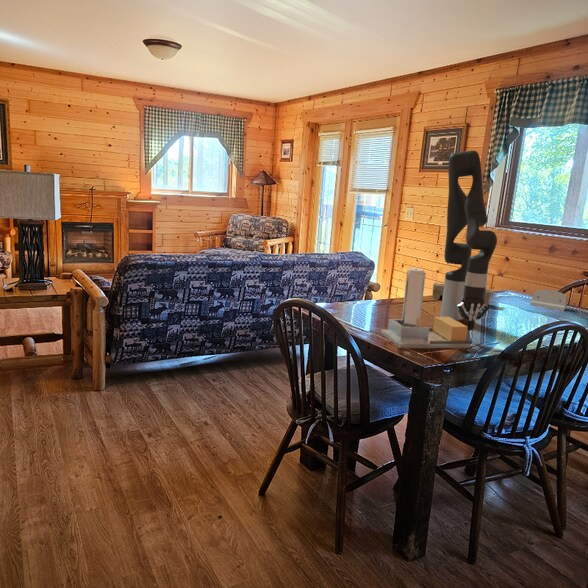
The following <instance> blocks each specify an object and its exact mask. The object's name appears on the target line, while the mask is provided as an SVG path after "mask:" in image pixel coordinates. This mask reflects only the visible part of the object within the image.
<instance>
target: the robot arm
mask: <svg viewBox="0 0 588 588" xmlns="http://www.w3.org/2000/svg"><path fill="white" fill-rule="evenodd" d="M481 163H482V162H481V158H480V154H479V153H478V151H476V150H472V149H471V150H465V151H459V152H454V153H451V154H450V155H449V158H448V165H447V166H448V173H447V174H448V198H447V199H448V200H447V208H446V209H447V211H446V212H447V213H446V237H445V244H444V245H445V247H444V261H445V262H446V263H447V264H452V265H460V267H459V268H458V269H455V270H450V271H447V272H446V273H445V275H444V283H443V284H444V291H443V299H442V298H441V300H442V301H441V309H440V316H439V317H450V318H452V319H454V320H456V321H461V320H465V324H464V325H465V326H467V327H468V329H467V331H473V330H474V329H475V325H476V324H475V323H476V321H477V320H481V319H482V318H483V317H484V315H485V314H486V313H487V312H488V310H489V309H490V306H489V305H488V306H486V305H485V304H484V297H485V291H486V290H487V285H488V284H487V282H488V272H489V271H488V270H489V265H490V261H491V259H492V257H493V254H494V252H495V249H496V247H497V243H498V237H497V234H496V233H495V232H494V231H492V230H485V229H481V230H480V227H483V226H484V225H486V224H487V223H488V220H489V219H488V214H487V209H486V205H485V200H484V192H483V191H484V190H483V189H484V188H483V175H482V174H483V173H482V164H481ZM470 176H472V177H471V178H472V184H471V187H470V189H469V191H468V193H467V194H466V193H465V192H464V190H463V188H461V186H460V183H459V178H463V177H470ZM465 228H466V234H465V235H466V236H465V242H466V243H461V242H454V241H455V239H456V238H457V237H458V236H459V234H460V233H461V232H462V231H463V230H464V229H465ZM472 250H474V251H475V250H476V251H477V250H479V252H478V254H476V255H472Z"/></svg>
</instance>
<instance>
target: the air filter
mask: <svg viewBox="0 0 588 588" xmlns="http://www.w3.org/2000/svg"><path fill="white" fill-rule="evenodd" d="M426 274H427V273H426V272H425V269H421V268H414V267H413V268H408V269H407V271H406V276H405V277H406V278H405V286H404V296H403V297H404V298H403V307H402V315H401V316H402V317H401V319H402V323H401V325H402V326H404V327H421V317H422V307H423V298H424V289H425V283H426Z"/></svg>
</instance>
